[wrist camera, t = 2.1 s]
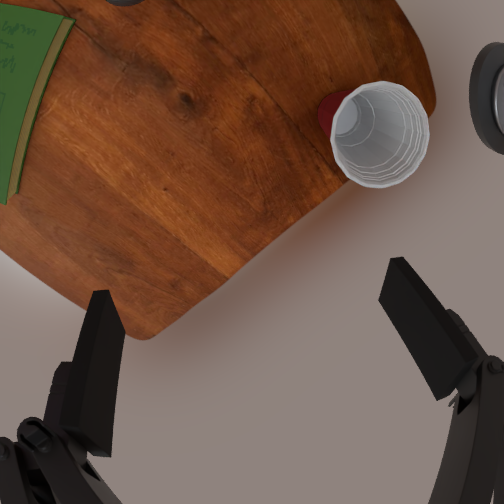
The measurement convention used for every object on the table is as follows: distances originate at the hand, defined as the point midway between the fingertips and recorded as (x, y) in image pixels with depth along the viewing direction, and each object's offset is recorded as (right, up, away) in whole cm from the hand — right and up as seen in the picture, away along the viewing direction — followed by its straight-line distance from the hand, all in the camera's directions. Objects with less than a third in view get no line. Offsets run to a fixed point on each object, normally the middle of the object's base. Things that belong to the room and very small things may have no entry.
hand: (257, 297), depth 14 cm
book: (-34, +22, +11) cm, 43 cm away
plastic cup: (+10, +19, +22) cm, 31 cm away
